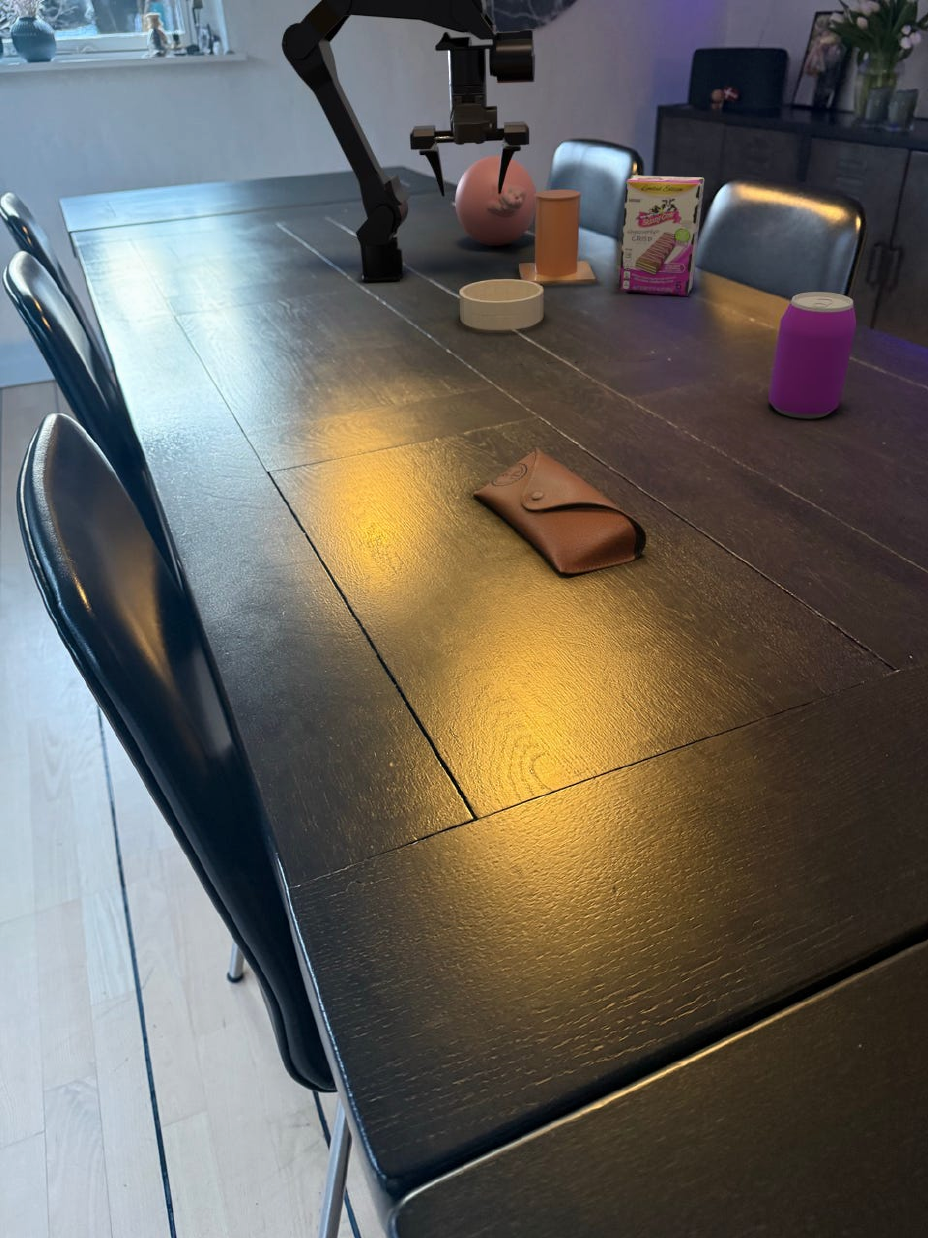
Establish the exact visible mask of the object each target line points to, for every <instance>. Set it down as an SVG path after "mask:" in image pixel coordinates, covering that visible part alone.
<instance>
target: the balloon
mask: <svg viewBox="0 0 928 1238" xmlns="http://www.w3.org/2000/svg"><path fill="white" fill-rule="evenodd" d="M499 165H500V155H493V156H487V157H484V158H481V159H478V160H477V161H476V162H474V163H473V164H472V165H471V166H469V167H468V168H467V169H466V171H464V173H463V174H462V176H461V178H460V180H459V182H458V184H457V187H456V191H455V192H456V193H455V201H454V203H455V205H454V206H455V211H456V216H457V218H458V221H459V224H460V226H461V227H462V228H463V230H464V231H465V233H467V235H468V236H469V237H470V238H471V239H473V240H474V241H476V242H477V243H480V244H482V245H485V246H490V247H500V246H501V247H502V246H505V245H509V244H511V243H514V242H515V241H517V240H519V238H521V237H522V236H523V235H524V234H525V233H526V232H527V230H528V229H529V228H530V226H531V224H532V223H533V221H534V219H535V194H536V193H537V189H536V186H535V185H536V184H535V183H534V180H533V178H532V176H531V174H530V173H529V171H528V170H527V169H526V168H525V167H524V166H523V165H522V164H521V163H519V162H518V161H517V160H514V159H513V158H512V159H511V161H510V163H509V166H508V169H507V172H506V176H505V180H504V183H503V187H502V191H501V194H498V176H499Z"/></svg>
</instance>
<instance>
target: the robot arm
mask: <svg viewBox="0 0 928 1238" xmlns="http://www.w3.org/2000/svg"><path fill="white" fill-rule="evenodd" d="M351 16H357V17H369V18H370V17H371V18H372V17H373V18H384V19H385V18H387V19H396V20H397V19H398V20H412V21H414V20H415V21H421V22H425V23H429V24H431V25H434V26H437V27H441V28H443V29H447V30H450V31H454V32H457V33H462V34H464V33H471V34H472V35H473V36H474V37H476V38H477V39H478V40H480V41H487V40H488V41H489V40H490V41H492V43H483V44H473V40H472V37H471V36H454V37H453V36H452V35H451V34H450V32H449V31H444V32H443V34H442V37H441V39H440V40H439V41H438V42H437V43H436V45H435V46H434V50H435V51H436V52H447V56H448V57H447V60H448V81H449V107H450V113H449V122H450V123H449V124H450V129H440V130H439V129H437V130H436V124H428V125H414V126H413V127H412V128H411V130H410V132H409V144H410V145H409V146H410V147H409V148H410V150H413V151H416V150H417V151H418V150H419V151H418V154H419V156H425V157H426V159H427V161H428V163H429V165H430V167H431V170H432V171H433V173H434V176H435V180H436V183H437V186H438V188H439V192H440V195H441V197H442V198H443V197H445V196H446V195H445V193H446V192H445V181H444V175H443V174H444V173H443V168H442V162H441V155H440V150H439V146H438V144H452V143H453V144H455V145H458V146H463V145H465V144H475V145H482V144H484V143H486V142H499V141H501V142H502V143H501V145H500V146H501V147H500V155H499V156H500V165H499V176H498V194H501V191H502V187H503V183H504V180H505V176H506V172H507V169H508V166H509V163H510V161H511V159H512V160H513V156H514V155H515V153H516V152H521V151H522V146H529V145H530V127H529V125H528V124H527V123H526V122H525V120H522V121H521V120H520V121H503V124H502V127H498V105H488V95H487V94H488V92H487V50H488V66H489V67H488V68H489V69H488V70H489V76H490V77H493V78H496V82H497V84H516V83H517V84H520V83H522V84H523V83H535V79H536V78H535V77H536V76H535V74H536V53H535V48H534V47H535V46H534V29H531V28H528V29H527V28H526V29H522V30H518V31H517V30H516V31H499V29H498V28H497V25H496V24H495V23H494V21H493V20H492V19H491V17H490V16H489V13H487V1H486V0H320V1H319V2H318V3H317V4H316V5H315V6H314V7H313V8H312V9H311V10H310V11H309V12H308V13H307V14H306V15H305V17H303V19H302V20H301V21H300V22H294V23H292V24H290V25H288V27H287V28H286V29H285V31H284V33H283V35H282V41H281V49H282V53H283V55H284V57H285V59H286V60H287V62H288V63H289V65H290V66H291V67H292V69H293V70H294V71H295V73H296V75H297V76H298V77H299V78H300V79H301V80H302V82H303V83H304V84H305V85H306V86H307V87H308V88H309V89H310V90H311V92H312V93H313V95H314V96H315V97H316V100H317V102H318V103H319V106H320V108H321V110H322V112H323V114H324V116H325V117H326V120H327V121H328V124H329V125H330V128H331V130H332V132H333V134H334V136H335V137H336V140H337V141H338V144H339V145H340V148H341V150H342V152H343V154H344V155H345V158H346V159H347V162H348V164H349V166H350V168H351V169H352V171H353V174H354V176H355V178H356V180H357V182H358V186H359V191H360V196H361V201H362V202H361V203H362V206H363V209H364V213H365V215H366V218H367V219H366V220H365V221H364V222H363V223H362V225H361V226H360V227H358V230H356V232H355V236H356V238H357V241H358V243H359V247H360V248H359V249H360V257H361V266H362V267H361V268H362V277H361V282H362V283H368V282H369V283H373V282H375V283H376V282H396V281H400V280H401V276H402V275H403V274H404V261H403V260H404V259H403V247H402V246H401V245H399V237H398V236H396V235H397V234H398V230H399V228H400V227H401V226H402V225H403V223H404V222H405V221H406V220H407V218H408V213H409V204H408V201H407V200H408V199H409V198H410V196H409V195H408V194H407V193H406V191H405V190H404V189H403V186H402V183H401V180H400V177H399V175H398V174H397V173H396V174H395V175H393V176H392V177H390V176H389V175H388V174H387V173H386V172H385V171H384V169H382V167H381V164H380V162H379V161H378V159H377V157H376V155H375V152H374V150H373V148H372V146H371V144H370V142H369V140H368V138H367V136H366V134H365V132H364V130H363V128H362V126H361V123H360V122H359V118H358V117H357V115H356V114H355V111H354V109H353V107H352V105H351V103H350V101H349V99H348V96H347V94H346V92H345V91H344V89H343V86H342V85H341V83H340V80H339V75H338V71H337V64H336V59H335V55H334V52H333V50H332V49H333V48H332V46H331V42H332V41H333V40H334V39H335V37H336V36H337V35H338V34H339V32H340V31H341V29H342V28H343V26H344V25H345V24H346V22H347V21H348V19H349V18H350V17H351Z"/></svg>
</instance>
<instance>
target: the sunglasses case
mask: <svg viewBox="0 0 928 1238" xmlns="http://www.w3.org/2000/svg"><path fill="white" fill-rule="evenodd" d="M472 494H473V496H474V497H476V498H477V499H479V500H480V501H482V502H483V503H485V504H487V505H488V507H490V508H491V509H493V510H494V511H495V512H496V513H497V514H499V515H500V516H501V517H502V518H503V519H504V520H505V521H506V522H507V523H509V524H510V525H511V526H512V527H513V528H514V529H515V530H517V532H518V533H520V534H521V535H522V536H523V538H525V540H527V542H529V544H530V545H531V546H533V548H535V550H537V551H538V552H539V553H540V554H541V555H542V556H543V557H544V558H545V559H546V561H548V563H549V564H551V565H552V566H553V567H554V569H556V571H558V572H559V573H560V574H567V575H575V574H576V575H577V574H581V573H590V572H596V571H600V570H604V569H608V568H611V567H612V568H613V567H616V566H620V565H623V564H627V563H630V562H634V561H635V560H637V558H638V557H640V556H641V555H642V554H643V552H644V550H645V548H646V545H647V534H646V530H645V529H644V527H643V526H642V524H641V523H640V522H639V521H638V520H637V519H636V518H634V517H633V516H632V515H630V514H629V513H627V512H626V511H624V510H622V509H621V508H620V507H619V506H618V505H616V504H615V503H614V502H612V501H611V499H609V498H608V497H606V496H605V495H604V494H602V493H601V492H600V491H598V490H597V489H596V488H594V487H593V486H592V485H590V484H589V483H588V482H587V481H585V480H584V479H582V478H581V477H580V476H578V475H577V474H576V473H574V472H572V471H571V470H570V469H568V468H567V467H565V466H564V465H563V464H562V463H560V462H558V461H557V460H554V459H553V458H552V457H551V456H549V455H548V454H546V453H545V451H542V449H540V447H538V446H536V445H535V446H534V450H533V451H532V452H530V453H528V454H527V455H526V456H524V457H523V458H522V459H520V460H519V461H518V462H516V463H515V464H514V465H512V466H511V467H509V468H508V469H507V470H505V471H504V472H503V473H501V474H499V475H498V476H497V477H495V478H494V479H493V480H492V481H490V482H489V483H488V484H486V485H485V486H483V488H481V489H480V490H474V491H473V493H472Z"/></svg>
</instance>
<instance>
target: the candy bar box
mask: <svg viewBox="0 0 928 1238" xmlns="http://www.w3.org/2000/svg"><path fill="white" fill-rule="evenodd" d="M704 187H705V178H704V177H697V176H696V177H693V176H663V175H662V176H661V175H631V176H630V177H629V178H628V179H627V180H626V182H625V194H624V195H625V197H624V210H623V222H622V223H623V224H622V238H621V254H620V268H619V277H618V279H619V280H618V290H620V291H624V292H625V293H632V294H634V293H635V294H647V295H650V294H651V295H664V296H682V297H683V296H684V297H688V295H689V293H690V292H691V290H692V288H693V285H694V284H693V283H694V272H695V264H696V256H697V248H698V247H697V246H698V238H699V231H700V230H699V228H700V222H701V221H700V220H701V212H702V205H703V204H702V203H703V197H704V196H703V194H704Z"/></svg>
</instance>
